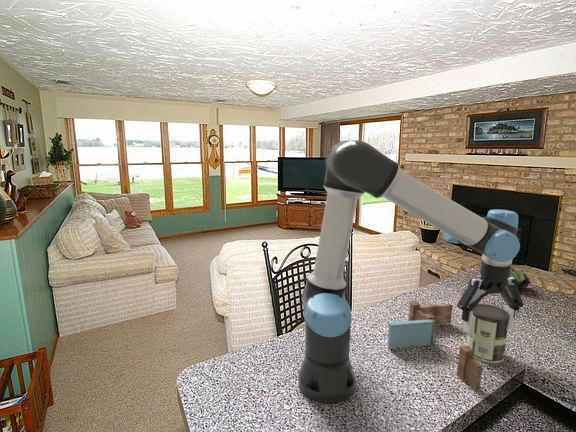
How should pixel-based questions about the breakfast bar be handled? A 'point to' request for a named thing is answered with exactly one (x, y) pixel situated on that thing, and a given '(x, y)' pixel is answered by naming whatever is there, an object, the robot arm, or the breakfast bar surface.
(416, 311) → the fence
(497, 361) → the coffee can
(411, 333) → the light blue flat block
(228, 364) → the breakfast bar surface
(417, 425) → the breakfast bar surface
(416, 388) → the breakfast bar surface
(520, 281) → the green and purple plant
